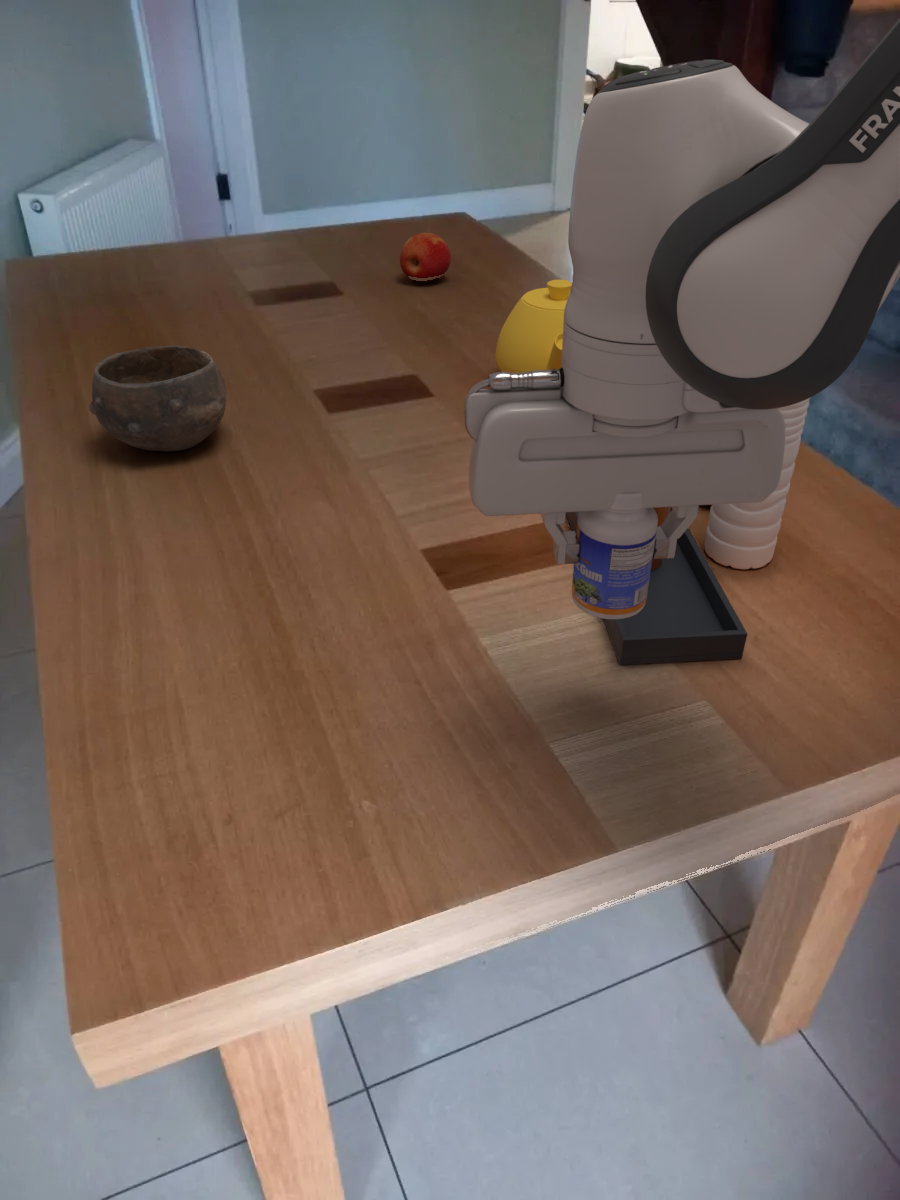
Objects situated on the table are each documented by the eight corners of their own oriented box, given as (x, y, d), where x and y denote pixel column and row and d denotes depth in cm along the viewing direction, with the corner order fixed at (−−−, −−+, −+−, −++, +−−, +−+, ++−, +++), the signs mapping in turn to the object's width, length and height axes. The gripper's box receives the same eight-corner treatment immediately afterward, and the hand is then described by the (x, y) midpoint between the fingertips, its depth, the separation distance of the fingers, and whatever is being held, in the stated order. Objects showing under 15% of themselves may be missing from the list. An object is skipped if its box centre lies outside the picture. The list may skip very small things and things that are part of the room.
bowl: (240, 460, 105) (227, 376, 99) (99, 480, 101) (77, 394, 95) (226, 412, 116) (214, 334, 110) (98, 428, 112) (78, 348, 106)
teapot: (622, 427, 112) (635, 314, 104) (494, 425, 112) (497, 313, 104) (606, 365, 128) (616, 264, 120) (494, 364, 129) (497, 263, 121)
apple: (457, 281, 161) (457, 233, 156) (424, 292, 156) (424, 243, 151) (424, 272, 165) (423, 225, 160) (391, 282, 160) (389, 234, 155)
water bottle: (749, 579, 85) (809, 309, 70) (689, 551, 89) (735, 290, 74) (797, 544, 90) (863, 285, 75) (739, 520, 94) (791, 269, 79)
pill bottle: (559, 586, 68) (567, 468, 62) (625, 573, 69) (639, 456, 64) (590, 628, 64) (601, 505, 58) (660, 614, 65) (678, 492, 59)
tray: (561, 501, 97) (562, 479, 95) (656, 497, 98) (659, 475, 96) (619, 665, 75) (623, 640, 73) (742, 658, 75) (747, 633, 74)
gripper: (469, 394, 53) (470, 591, 61) (813, 378, 54) (770, 573, 62) (460, 355, 58) (461, 541, 66) (774, 342, 59) (739, 526, 67)
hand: (613, 557), depth 64 cm, fingers closed on pill bottle, 5 cm apart
